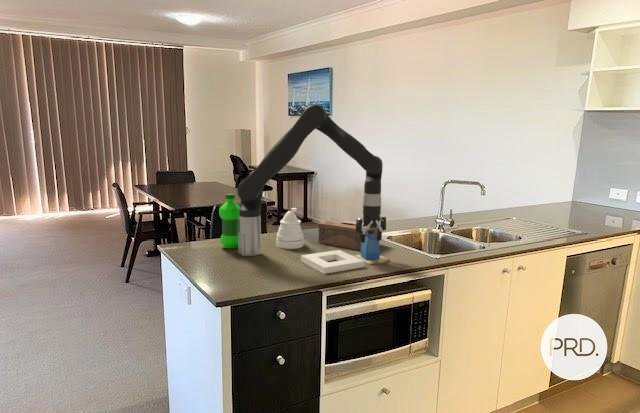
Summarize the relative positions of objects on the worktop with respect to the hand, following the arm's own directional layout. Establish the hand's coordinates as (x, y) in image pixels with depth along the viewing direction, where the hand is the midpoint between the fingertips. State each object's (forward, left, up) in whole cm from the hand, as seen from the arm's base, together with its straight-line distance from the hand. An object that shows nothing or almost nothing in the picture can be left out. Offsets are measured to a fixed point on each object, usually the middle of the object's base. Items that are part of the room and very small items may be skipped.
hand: (370, 241), depth 189 cm
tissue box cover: (+7, +27, -8) cm, 29 cm away
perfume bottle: (0, 0, -7) cm, 7 cm away
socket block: (-18, +2, -8) cm, 20 cm away
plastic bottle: (-46, +46, -8) cm, 66 cm away
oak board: (0, 0, -8) cm, 8 cm away
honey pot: (-20, +37, -8) cm, 43 cm away
